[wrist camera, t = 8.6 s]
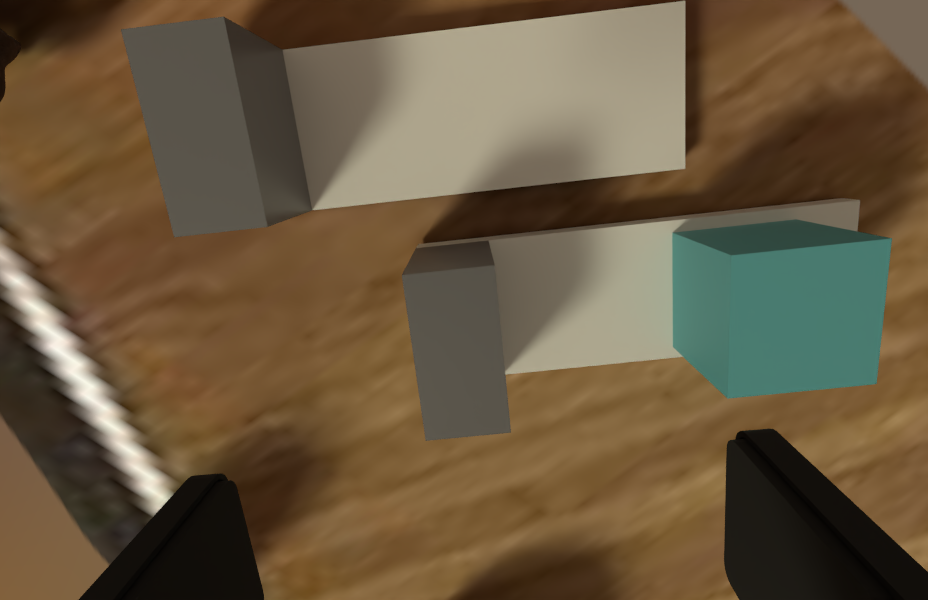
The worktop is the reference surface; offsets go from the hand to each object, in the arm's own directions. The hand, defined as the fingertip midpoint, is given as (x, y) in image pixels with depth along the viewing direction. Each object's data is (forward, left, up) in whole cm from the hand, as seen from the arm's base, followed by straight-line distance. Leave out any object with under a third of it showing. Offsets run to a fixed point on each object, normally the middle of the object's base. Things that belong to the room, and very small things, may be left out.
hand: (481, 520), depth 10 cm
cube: (-11, 0, -13) cm, 17 cm away
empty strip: (0, -8, -14) cm, 16 cm away
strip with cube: (-7, 0, -14) cm, 16 cm away
